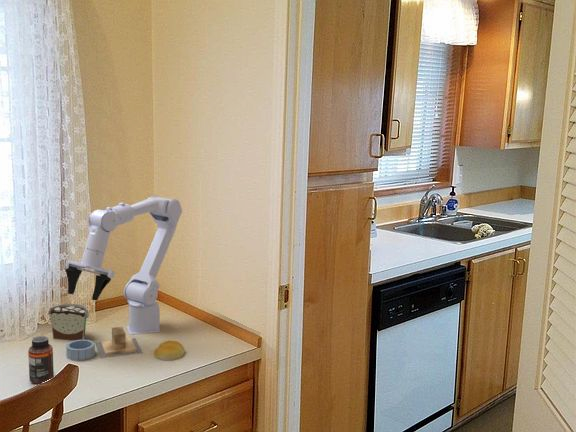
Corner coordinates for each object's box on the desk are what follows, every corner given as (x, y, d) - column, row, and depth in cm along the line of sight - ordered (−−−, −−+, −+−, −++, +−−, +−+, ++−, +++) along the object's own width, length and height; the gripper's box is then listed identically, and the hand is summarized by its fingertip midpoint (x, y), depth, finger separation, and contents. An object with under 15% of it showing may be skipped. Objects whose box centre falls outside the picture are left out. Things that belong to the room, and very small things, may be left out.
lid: (131, 340, 187) (131, 323, 186) (136, 351, 179) (137, 334, 178) (100, 343, 183) (100, 327, 182) (105, 355, 175) (105, 338, 174)
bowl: (92, 349, 180) (92, 338, 179) (96, 359, 173) (96, 348, 172) (65, 352, 176) (65, 341, 176) (67, 363, 170) (67, 351, 169)
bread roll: (150, 360, 175) (150, 347, 174) (162, 348, 183) (162, 336, 182) (177, 364, 173) (177, 351, 172) (188, 351, 182) (188, 339, 181)
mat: (135, 339, 189) (135, 337, 189) (143, 354, 178) (143, 352, 178) (95, 343, 184) (95, 342, 184) (100, 359, 173) (100, 358, 173)
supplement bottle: (48, 372, 164) (48, 332, 161) (57, 380, 159) (56, 339, 157) (25, 378, 160) (24, 337, 158) (33, 386, 155) (32, 345, 153)
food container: (95, 335, 190) (95, 305, 188) (87, 343, 184) (87, 311, 182) (57, 332, 191) (57, 301, 189) (48, 339, 185) (47, 308, 183)
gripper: (65, 244, 173) (52, 290, 172) (111, 255, 171) (99, 302, 169) (77, 246, 180) (65, 291, 179) (122, 257, 178) (110, 302, 176)
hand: (82, 297), depth 174 cm, fingers open, 7 cm apart
